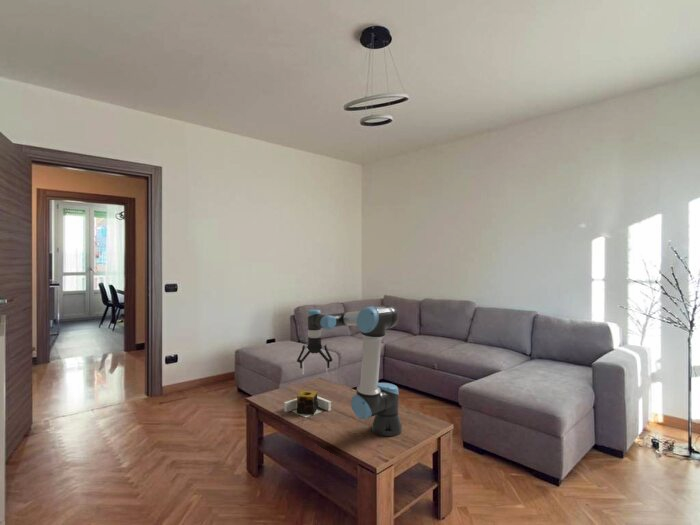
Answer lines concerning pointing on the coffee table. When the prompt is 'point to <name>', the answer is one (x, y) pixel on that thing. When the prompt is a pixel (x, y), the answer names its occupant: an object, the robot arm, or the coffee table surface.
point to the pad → (308, 414)
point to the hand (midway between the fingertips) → (314, 373)
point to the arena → (321, 403)
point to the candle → (307, 402)
